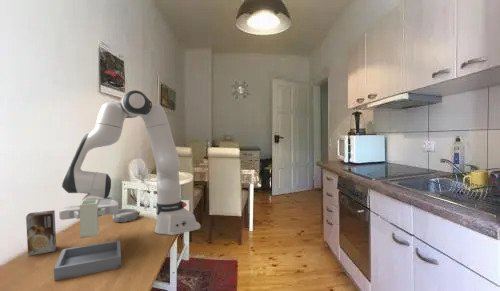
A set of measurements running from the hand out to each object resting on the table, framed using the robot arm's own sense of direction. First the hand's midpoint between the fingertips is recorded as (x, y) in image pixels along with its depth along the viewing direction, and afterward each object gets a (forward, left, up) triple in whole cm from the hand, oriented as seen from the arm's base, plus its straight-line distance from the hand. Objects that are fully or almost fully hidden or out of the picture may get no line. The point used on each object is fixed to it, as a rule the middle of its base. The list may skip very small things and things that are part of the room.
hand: (89, 215), depth 104 cm
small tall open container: (0, 0, -7) cm, 7 cm away
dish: (-14, -56, -18) cm, 61 cm away
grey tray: (0, 0, -18) cm, 18 cm away
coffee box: (+19, -23, -18) cm, 35 cm away
